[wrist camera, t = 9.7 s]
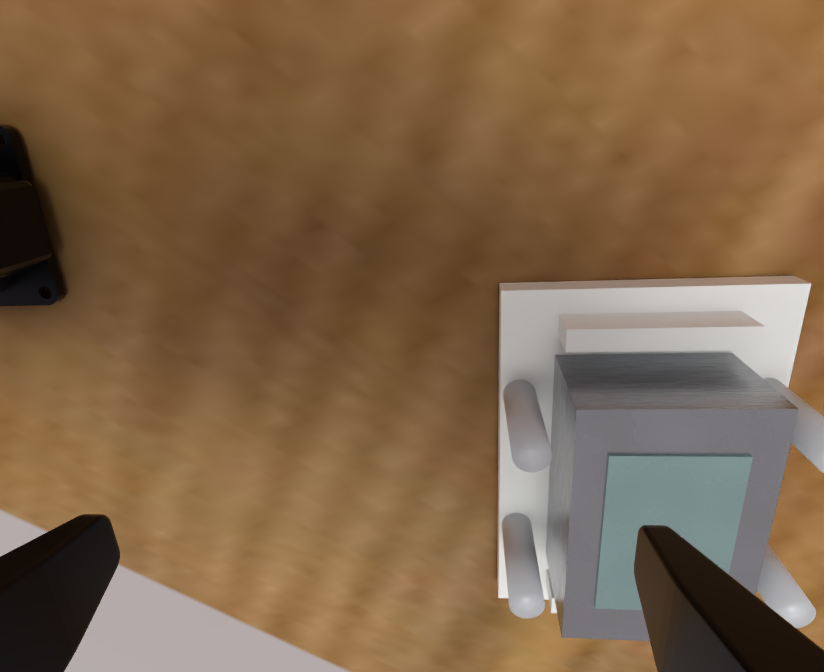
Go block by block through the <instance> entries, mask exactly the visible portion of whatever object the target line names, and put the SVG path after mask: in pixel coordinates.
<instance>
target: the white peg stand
mask: <svg viewBox="0 0 824 672" xmlns="http://www.w3.org/2000/svg"><path fill="white" fill-rule="evenodd" d="M810 287H811V283H809V282H807V281H805V280H803V279H800V278H798V277H796V276H756V277H717V278H677V279H638V280H599V281H559V282H520V283H499V402H498V545H497V583H498V597H499V598H509V607H510V610H511V611H512V613H513V614H515V615H516V616H518V617H521V618H534V617H537V616H539V615H540V614H541V613H542V612H543V611H544V608H545V602H544V599H545V600H549V604H550V610H551V613H557V609H556V604H555V599H554V593H553V588H552V583H551V578H550V572H549V567H548V562H547V557H546V537H547V515H548V493H549V472H550V462H551V460H552V450H551V428H552V407H553V385H554V363H555V355H584V354H661V353H733V354H734V355H735V356H737V357H738V358H739V359H740V360H741V361H743V362H744V363H745V364H746V365H747V366H748V367H750V368H751V369H752V370H753V371H754V372H756V373H757V374H758V375H759V376H760V377H762V378H763V379H764V380H765V381H766V382H767V383H769V384H770V385H771V386H772V387H773V388H775V389H776V390H777V391H778V392H779V393H780V394H782V395H783V396H784V397H785V398H786V399H788V400H789V401H790V402H791V403H792V404H793V405H795V406H796V407H797V408H798V409H799V410H798V415H797V419H796V423H795V427H794V432H793V436H792V440H791V443H792V444H793V445H794V446H795V447H796V448H797V449H798V450H799V451H800V452H801V453H802V454H803V455H804V456H806V457H807V458H808V459H809V460H810V461H811V462H812V463H813V464H814V465H815V466H816V467H817V468H818V469H819V470H820V471H821V472H823V473H824V417H823V416H822V415H821V414H820V413H818V412H817V411H816V410H815V409H814V408H812V407H811V406H810V405H809V404H807V403H806V402H805V401H804V400H802V399H801V398H800V397H799V396H797V395H796V394H795V393H794V392H792V391H791V390H790V389H789V388H788V386H789V382H790V377H791V373H792V368H793V364H794V359H795V355H796V350H797V346H798V341H799V337H800V332H801V328H802V323H803V319H804V314H805V310H806V305H807V301H808V296H809V292H810ZM757 590H758V592H759V593H760V595H761V596H762V598H763V600H764V601H765V603H766V604H767V605H768V606H769V607H770V608H771V609H773V610H774V611H775V612H776V613H778V614H779V615H780V616H781V617H783V618H784V619H785V620H786V621H788V622H789V623H790V624H791V625H793V626H794V627H795V628H801V627H804V626H806V625H808V624H809V623H811V622H812V621H813V620H814V618H815V616H816V610H815V608H814V606H813V605H812V603H811V602H810V601H809V599H808V598H807V597H806V595H805V594H804V593H803V591H802V590H801V588H800V587H799V586H798V584H797V583H796V582H795V580H794V579H793V577H792V576H791V575H790V573H789V572H788V571H787V569H786V568H785V566H784V565H783V564H782V562H781V561H780V560H779V558H778V557H777V555H776V554H775V553H774V551H773V550H772V549H771V547H770V546H769V544H767V548H766V552H765V557H764V561H763V565H762V569H761V574H760V578H759V582H758V587H757Z"/></svg>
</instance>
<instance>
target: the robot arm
mask: <svg viewBox="0 0 824 672" xmlns="http://www.w3.org/2000/svg"><path fill="white" fill-rule="evenodd" d="M0 135H3V137H4V139H5V145H3V144H2V142H1V140H0V306H26V305H51V304H54V303H57V302H59V301H61V300H62V299H63V298H64V295H65V290H64V286H63V283H62V279H61V276H60V273H59V269H58V266H57V262H56V259H55V256H54V252H53V249H52V245H51V242H50V239H49V235H48V232H47V228H46V225H45V222H44V218H43V215H42V211H41V208H40V205H39V201H38V198H37V194H36V191H35V188H34V184H33V181H32V177H31V174H30V171H29V167H28V164H27V161H26V157H25V154H24V150H23V147H22V144H21V140H20V138H19V135H18V133H17V132H16V131H15V130H14V129H13V128H12V127H10V126H8V125H0ZM46 287H47V288H49V289H50V291H51V294H52V295H50V294H49V293H48V292H47V290H46ZM119 559H120V550H119V547H118V543H117V540H116V537H115V534H114V531H113V527H112V524H111V521H110V519H109V518H108V517H107V516H105V515H102V514H84V515H80V516H78V517H76V518H74V519H72V520H70V521H68V522H66V523H64V524H62V525H60V526H59V527H57V528H55V529H53V530H51V531H49V532H47V533H45V534H43V535H41V536H39V537H38V538H36V539H34V540H32V541H30V542H28V543H26V544H24V545H22V546H20V547H18V548H16V549H14V550H12V551H11V552H9V553H7V554H5V555H3V556H1V557H0V672H64V671H65V669H66V667H67V666H68V664H69V662H70V660H71V659H72V657H73V655H74V653H75V652H76V650H77V647H78V646H79V644H80V642H81V640H82V638H83V636H84V634H85V632H86V630H87V628H88V626H89V624H90V622H91V620H92V618H93V615H94V614H95V611H96V609H97V607H98V605H99V603H100V601H101V599H102V597H103V595H104V593H105V591H106V589H107V587H108V585H109V583H110V581H111V578H112V577H113V575H114V572H115V570H116V568H117V566H118V563H119ZM634 576H635V582H636V586H637V590H638V594H639V598H640V602H641V606H642V610H643V614H644V618H645V623H646V627H647V631H648V635H649V639H650V643H651V647H652V651H653V655H654V659H655V663H656V667H657V671H658V672H824V650H823V649H821V648H820V647H819V646H818V645H816V644H815V643H814V642H813V641H811V640H810V639H809V638H808V637H806V636H805V635H804V634H803V633H801V632H800V631H799V630H798V629H796V628H795V627H794V626H793V625H791V624H790V623H789V622H788V621H786V620H785V619H784V618H783V617H781V616H780V615H779V614H778V613H776V612H775V611H774V610H773V609H771V608H770V607H769V606H768V605H766V604H765V603H764V602H763V601H761V600H760V599H759V598H758V597H756V596H755V595H754V594H753V593H751V592H750V591H749V590H748V589H746V588H745V587H744V586H743V585H741V584H740V583H739V582H738V581H736V580H735V579H734V578H733V577H731V576H730V575H729V574H728V573H726V572H725V571H724V570H723V569H721V568H720V567H719V566H718V565H716V564H715V563H714V562H713V561H711V560H710V559H709V558H708V557H706V556H705V555H704V554H703V553H701V552H700V551H699V550H698V549H696V548H695V547H694V546H693V545H691V544H690V543H689V542H688V541H686V540H685V539H684V538H683V537H681V536H680V535H679V534H678V533H676V532H675V531H674V530H673V529H671V528H670V527H668V526H665V525H643V526H641V527H640V528H639V531H638V536H637V544H636V552H635V560H634Z"/></svg>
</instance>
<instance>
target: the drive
mask: <svg viewBox="0 0 824 672" xmlns="http://www.w3.org/2000/svg"><path fill="white" fill-rule="evenodd" d="M798 410H799V409H798V408H797V407H796V406H795V405H793V404H792V403H791V402H790V401H789V400H788V399H786V398H785V397H784V396H783V395H782V394H780V393H779V392H778V391H777V390H776V389H775V388H773V387H772V386H771V385H770V384H769V383H767V382H766V381H765V380H764V379H763V378H762V377H760V376H759V375H758V374H757V373H756V372H754V371H753V370H752V369H751V368H750V367H748V366H747V365H746V364H745V363H744V362H743V361H741V360H740V359H739V358H738V357H737V356H735V355H734V354H733V353H661V354H584V355H555V363H554V385H553V407H552V428H551V450H552V460H551V462H550V472H549V493H548V515H547V537H546V557H547V562H548V567H549V572H550V578H551V583H552V588H553V593H554V599H555V604H556V609H557V614H558V619H559V625H560V630H561V635H562V637H563V638H588V639H614V640H639V641H650V639H649V635H648V631H647V627H646V623H645V618H644V614H643V610H642V606H641V602H640V598H639V594H638V590H637V586H636V582H635V576H634V560H635V552H636V544H637V536H638V531H639V528H640V527H641V526H643V525H665V526H668V527H670V528H671V529H673V530H674V531H675V532H676V533H678V534H679V535H680V536H681V537H683V538H684V539H685V540H686V541H688V542H689V543H690V544H691V545H693V546H694V547H695V548H696V549H698V550H699V551H700V552H701V553H703V554H704V555H705V556H706V557H708V558H709V559H710V560H711V561H713V562H714V563H715V564H716V565H718V566H719V567H720V568H721V569H723V570H724V571H725V572H726V573H728V574H729V575H730V576H731V577H733V578H734V579H735V580H736V581H738V582H739V583H740V584H741V585H743V586H744V587H745V588H746V589H748V590H749V591H750V592H751V593H753V594H754V595H756V591H757V587H758V582H759V578H760V574H761V569H762V565H763V561H764V557H765V552H766V548H767V544H768V539H769V535H770V531H771V526H772V522H773V518H774V514H775V509H776V505H777V501H778V496H779V492H780V488H781V483H782V479H783V475H784V470H785V466H786V462H787V458H788V453H789V449H790V445H791V440H792V436H793V432H794V427H795V423H796V419H797V415H798Z"/></svg>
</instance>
